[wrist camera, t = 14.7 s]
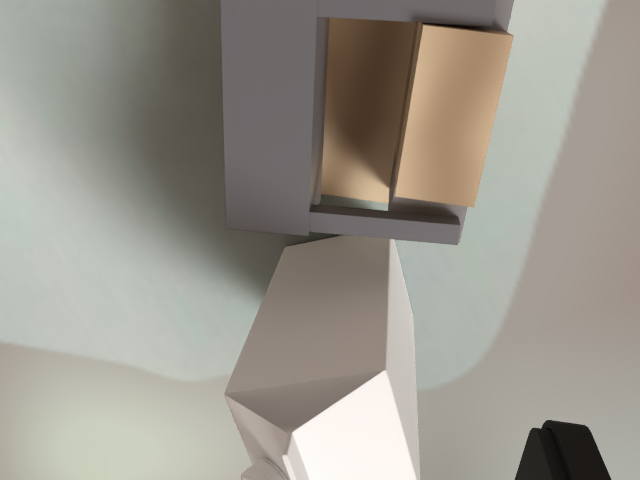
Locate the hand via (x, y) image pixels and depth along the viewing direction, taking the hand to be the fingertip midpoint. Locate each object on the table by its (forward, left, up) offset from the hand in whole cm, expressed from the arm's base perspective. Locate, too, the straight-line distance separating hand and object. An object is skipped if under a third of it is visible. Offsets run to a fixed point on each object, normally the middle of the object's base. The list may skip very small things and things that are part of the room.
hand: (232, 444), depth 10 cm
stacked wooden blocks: (0, +2, -27) cm, 27 cm away
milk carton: (+1, -12, -27) cm, 30 cm away
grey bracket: (0, +1, -23) cm, 23 cm away
